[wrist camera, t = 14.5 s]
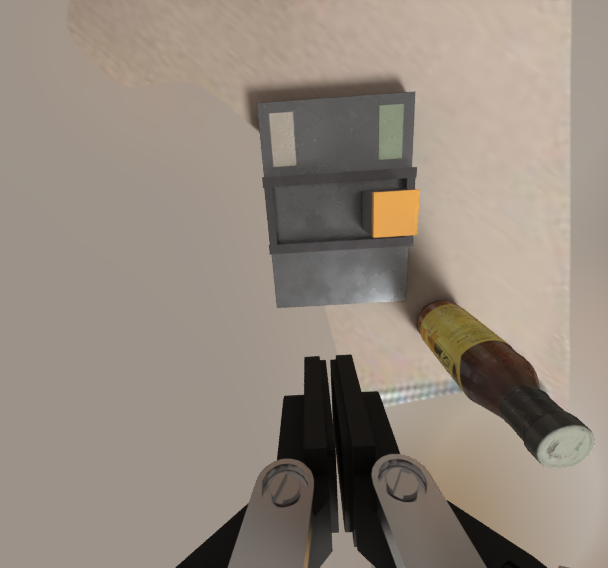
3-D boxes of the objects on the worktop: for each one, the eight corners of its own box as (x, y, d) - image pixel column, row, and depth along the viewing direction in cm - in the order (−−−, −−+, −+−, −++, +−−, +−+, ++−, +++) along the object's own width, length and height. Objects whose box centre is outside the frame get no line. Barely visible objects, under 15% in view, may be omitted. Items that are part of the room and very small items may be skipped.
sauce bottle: (405, 323, 40) (494, 449, 21) (440, 288, 38) (572, 390, 19) (439, 351, 41) (552, 494, 22) (475, 319, 40) (629, 443, 21)
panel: (259, 107, 32) (254, 99, 29) (408, 97, 32) (420, 86, 28) (278, 301, 39) (275, 312, 36) (401, 294, 39) (409, 305, 35)
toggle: (361, 191, 33) (373, 192, 27) (399, 188, 32) (419, 189, 27) (362, 228, 34) (373, 237, 28) (398, 226, 34) (417, 235, 28)
